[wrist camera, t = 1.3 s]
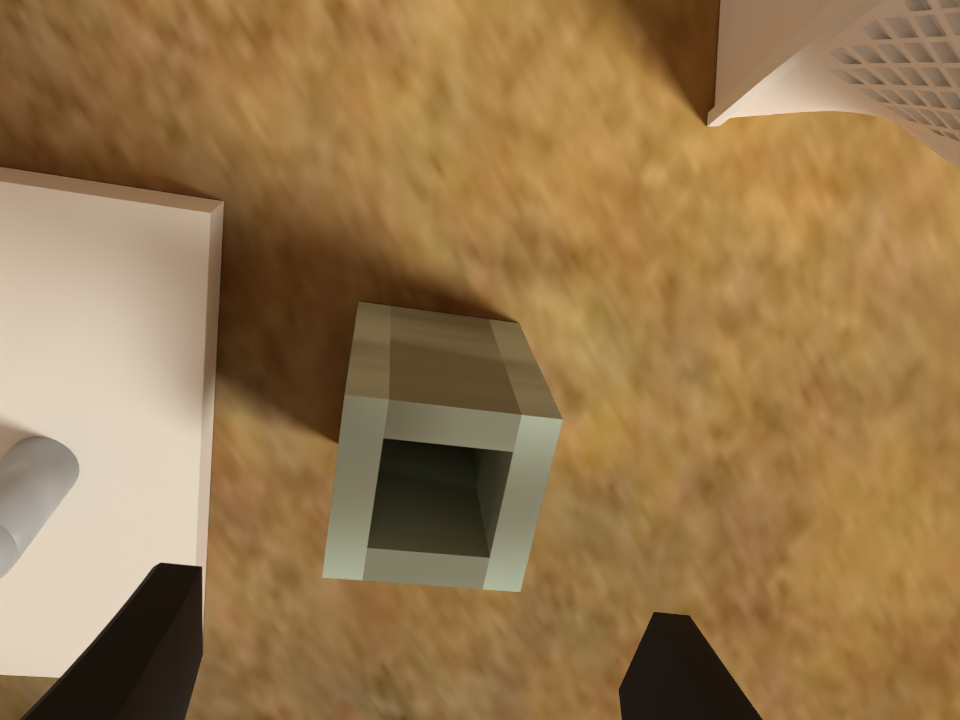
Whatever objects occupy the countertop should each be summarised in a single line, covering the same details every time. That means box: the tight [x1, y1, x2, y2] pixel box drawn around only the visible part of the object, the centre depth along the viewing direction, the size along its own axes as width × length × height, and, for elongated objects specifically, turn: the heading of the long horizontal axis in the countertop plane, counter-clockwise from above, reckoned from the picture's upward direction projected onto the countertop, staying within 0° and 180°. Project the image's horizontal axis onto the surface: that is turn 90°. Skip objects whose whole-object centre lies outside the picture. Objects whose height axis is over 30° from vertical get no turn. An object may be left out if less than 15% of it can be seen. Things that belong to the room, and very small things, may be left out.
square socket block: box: [322, 301, 563, 592], centre depth 19 cm, size 5×5×6 cm
